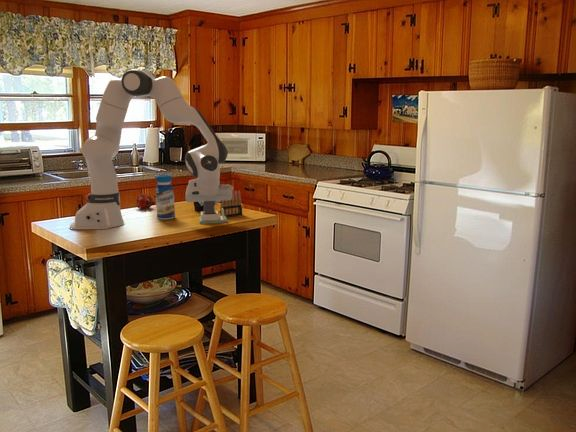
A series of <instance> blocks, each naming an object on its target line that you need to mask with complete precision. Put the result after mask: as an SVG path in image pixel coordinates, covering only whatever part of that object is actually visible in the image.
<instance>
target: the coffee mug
mask: <svg viewBox="0 0 576 432" xmlns="http://www.w3.org/2000/svg"><path fill="white" fill-rule="evenodd" d="M193 208H194V211H195V212H204V206H201V204H200V203H199V202H193Z"/></svg>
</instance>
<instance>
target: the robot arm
mask: <svg viewBox="0 0 576 432" xmlns="http://www.w3.org/2000/svg"><path fill="white" fill-rule="evenodd" d="M134 97H137V98H150V97H152V98H153V99H154V100H155V103H156V104H157V106H158V109H159V111H160V114H161V115H162V116H163V118H164V119H165V120H166V121H167V122H170V123H173V124H177V125H178V124H181V125H182V124H183V125H184V124H187V125H188V124H189V125H192V126H194V127H196V128H197V129H198V130H199V131H200V133H201V135H202V136H203V137H204V139H205V140H206V142H207V143H206V144H203V145H201V146H198V147H195V148H193V149H191V150H189V151H187V152H186V153H185V156H184V165H185V168H186V170H187V171H188V172H189V173H190V174H191V175H192V176H194V177H195V178H193V179H190V180H188V183H187V184H188V185H187V186H186V189H185V201H186V203H187V202H188V203H194V202H199V203H200V204H201V206H204V201H214V206H218V203H221V201H224V200H231V199H232V191H233V192H234V186H233V185H232V184H230V183H229V184H220V183H221V181H220V177H221V168H220V164H223V163H225V162H226V160H227V157H228V154H229V152H228V148H227V146H226V145H225V144H224V143H223V141H222V140H221V139H220V138H219V136H218V135H217V133H215V131H214V130H213V128H212V127H211V125H210V124H209V122H208V121H207V120H206V118H205V116H204V115H203V114H202V113H201V111H200V110H199V109H198V108H196V107H194V106H191V105H190V104H189V103H188V102H187V100H185V98H184V95H183V94H182V92H181V90H180V88H179V87H178V85H177V84H176V83H175V80H174V79H172V78H171V77H169V76H165V75H164V76H160V77H157V76H156V75H155V74H153V73H152V72H150V71H146V70H145V69H137V68H133V69H128V70H127V71H125V72H124V74H123V75H122V77H121V78H112V79H110V80H109V81H108V83H107V85H106V88H105V90H104V92H103V95H102V97H101V100H100V103H99V107H98V109H97V114H96V117H95V121H96V122H95V123H96V124H95V132H94V133H95V134H94V136H91V137H89V138H88V139H86V140H85V141H84V143H82V146H81V153H82V156H83V157H84V158H85V162H86V167H87V170H88V173H89V179H90V190H91V191H90V192H91V193H88V194H87V195H86V201H87V203H85V204H84V205H83V206H82V207H81V208H79V210H77V211H76V212H75V216H74V217H75V218H74V222H72V223H70V225H69V229H70V228H72V229H71V230H107V229H111V228H116V227H120V226H123V225H124V224H125V221H124V218H123V215H122V210H121V195H120V192H119V187H118V186H119V184H118V175H117V171H115V169H116V168H115V166H114V162H113V159H114V158H115V157H116V156H117V155H118V153H119V151H120V143H121V137H122V130H123V126H124V123H125V119H126V116H127V115H126V114H127V113H128V109H129V105H130V103H131V100H132V99H133V98H134Z"/></svg>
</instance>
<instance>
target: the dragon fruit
mask: <svg viewBox="0 0 576 432" xmlns="http://www.w3.org/2000/svg"><path fill="white" fill-rule="evenodd" d="M135 200H136V201H135V202H136V207H137V209H141V210H144V211H146V210H147V209H150V208H151V207H152V206H154V205H156V201H154V200H153V198H152V196H151V195H150V194H148V193H143V192H141V193H140V194H139V195H138V196H137V197H136V198H135Z"/></svg>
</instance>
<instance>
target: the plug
mask: <svg viewBox="0 0 576 432" xmlns="http://www.w3.org/2000/svg"><path fill="white" fill-rule="evenodd" d="M215 211H216V210H215V205H214V201H204V211H203V212H204V215H206V214H215Z"/></svg>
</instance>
